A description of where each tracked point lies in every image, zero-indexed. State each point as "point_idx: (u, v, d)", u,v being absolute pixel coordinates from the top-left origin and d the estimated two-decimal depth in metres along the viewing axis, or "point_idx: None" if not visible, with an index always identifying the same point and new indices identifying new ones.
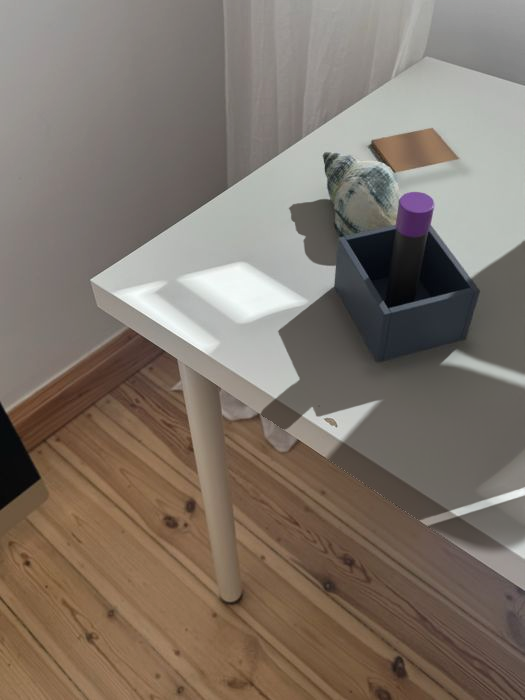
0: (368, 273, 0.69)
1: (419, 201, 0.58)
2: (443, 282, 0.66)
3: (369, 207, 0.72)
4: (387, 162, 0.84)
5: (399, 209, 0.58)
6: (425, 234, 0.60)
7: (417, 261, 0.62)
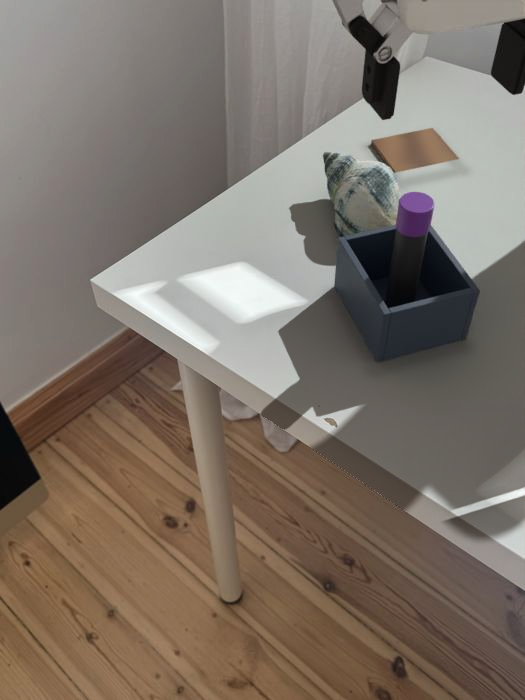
0: (368, 273, 0.69)
1: (419, 201, 0.58)
2: (443, 282, 0.66)
3: (369, 207, 0.72)
4: (387, 162, 0.84)
5: (399, 209, 0.58)
6: (425, 234, 0.60)
7: (417, 261, 0.62)
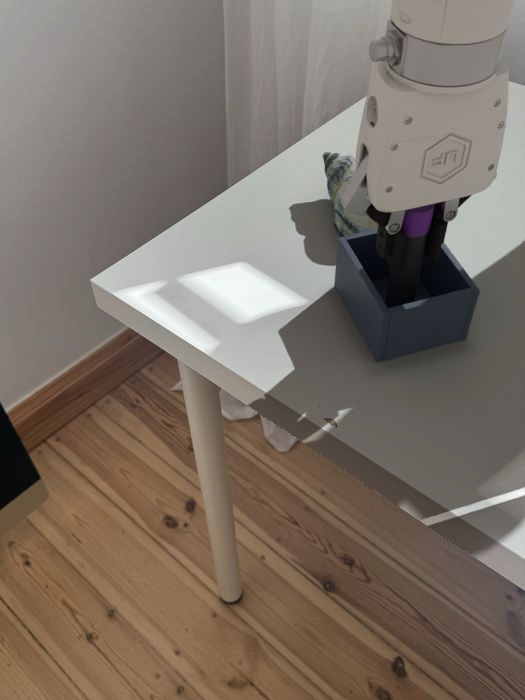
0: (368, 273, 0.69)
1: None
2: (443, 282, 0.66)
3: None
4: None
5: None
6: (425, 234, 0.60)
7: (417, 261, 0.62)
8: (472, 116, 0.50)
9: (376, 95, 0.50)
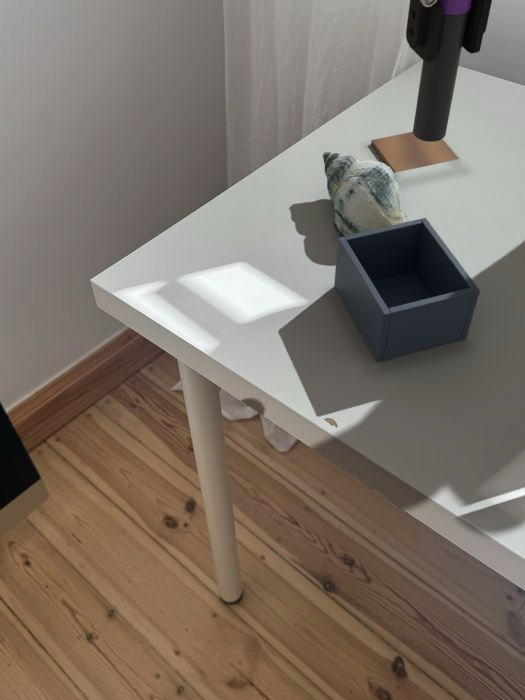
0: (368, 273, 0.69)
1: None
2: (443, 282, 0.66)
3: (369, 207, 0.72)
4: (387, 162, 0.84)
5: None
6: (465, 13, 0.50)
7: (455, 53, 0.52)
8: None
9: None
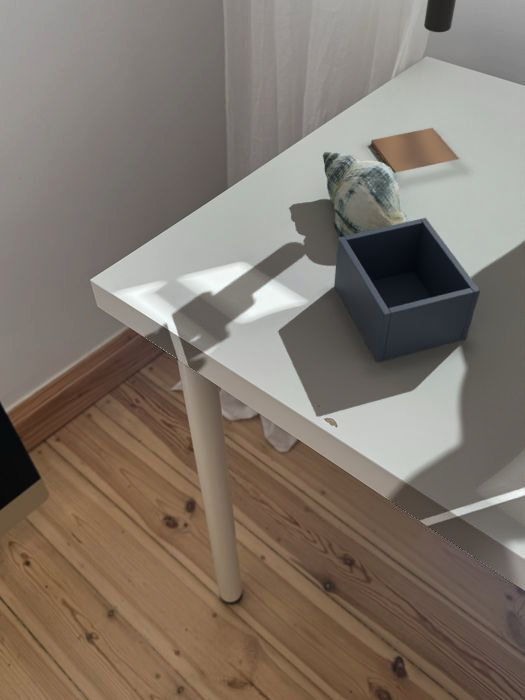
0: (368, 273, 0.69)
1: None
2: (443, 282, 0.66)
3: (369, 207, 0.72)
4: (387, 162, 0.84)
5: None
6: None
7: None
8: None
9: None
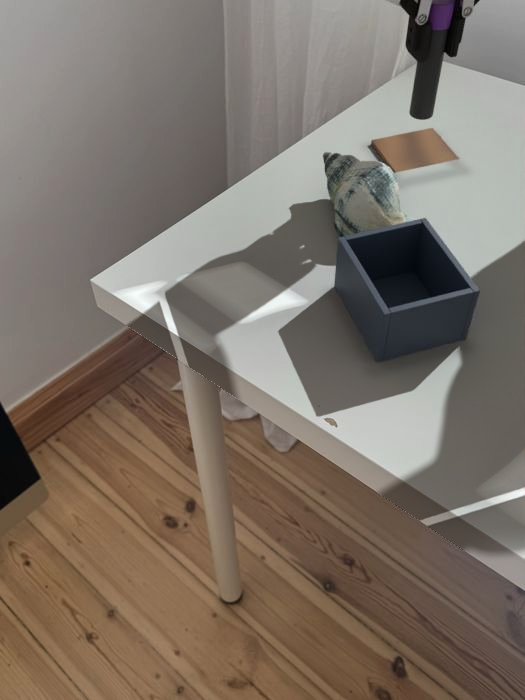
0: (368, 273, 0.69)
1: None
2: (443, 282, 0.66)
3: (369, 207, 0.72)
4: (387, 162, 0.84)
5: None
6: (446, 29, 0.73)
7: (439, 56, 0.75)
8: None
9: None
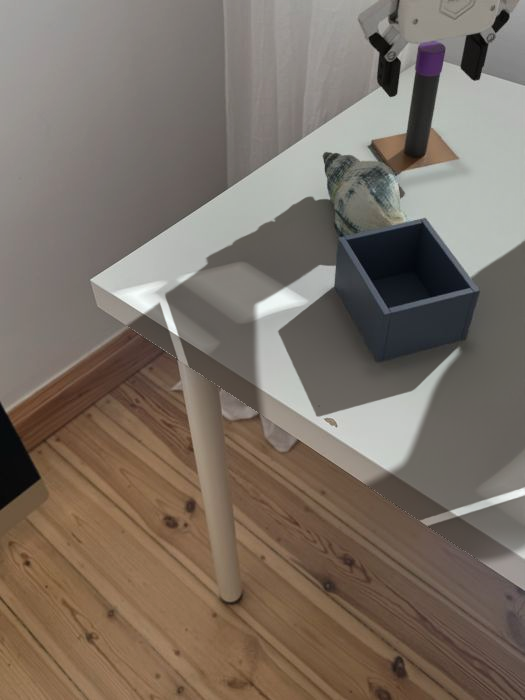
0: (368, 273, 0.69)
1: (433, 46, 0.75)
2: (443, 282, 0.66)
3: (369, 207, 0.72)
4: (387, 162, 0.84)
5: (418, 53, 0.76)
6: (438, 74, 0.77)
7: (432, 99, 0.79)
8: None
9: None
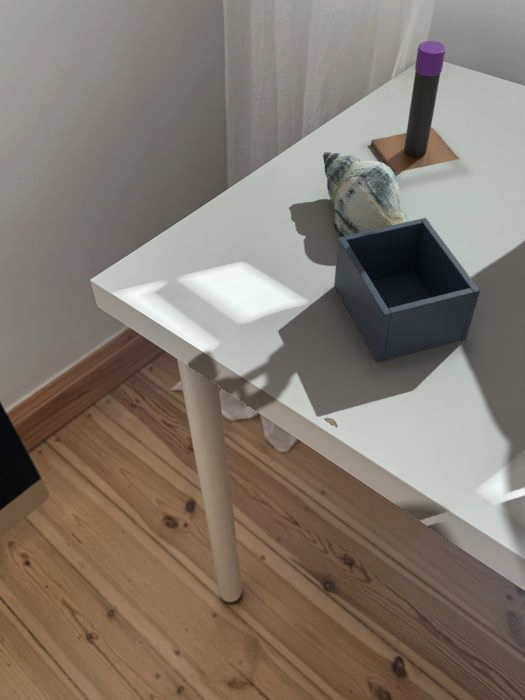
0: (368, 273, 0.69)
1: (433, 46, 0.75)
2: (443, 282, 0.66)
3: (369, 207, 0.72)
4: (387, 162, 0.84)
5: (418, 53, 0.76)
6: (438, 74, 0.77)
7: (432, 99, 0.79)
8: None
9: None
